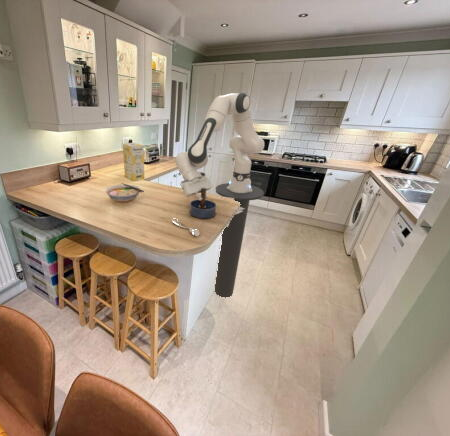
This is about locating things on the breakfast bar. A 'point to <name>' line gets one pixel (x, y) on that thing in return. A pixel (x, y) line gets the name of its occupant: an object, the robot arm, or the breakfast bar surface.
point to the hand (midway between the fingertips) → (203, 199)
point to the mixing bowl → (202, 213)
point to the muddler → (202, 202)
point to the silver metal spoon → (192, 230)
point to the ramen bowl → (123, 192)
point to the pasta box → (133, 161)
